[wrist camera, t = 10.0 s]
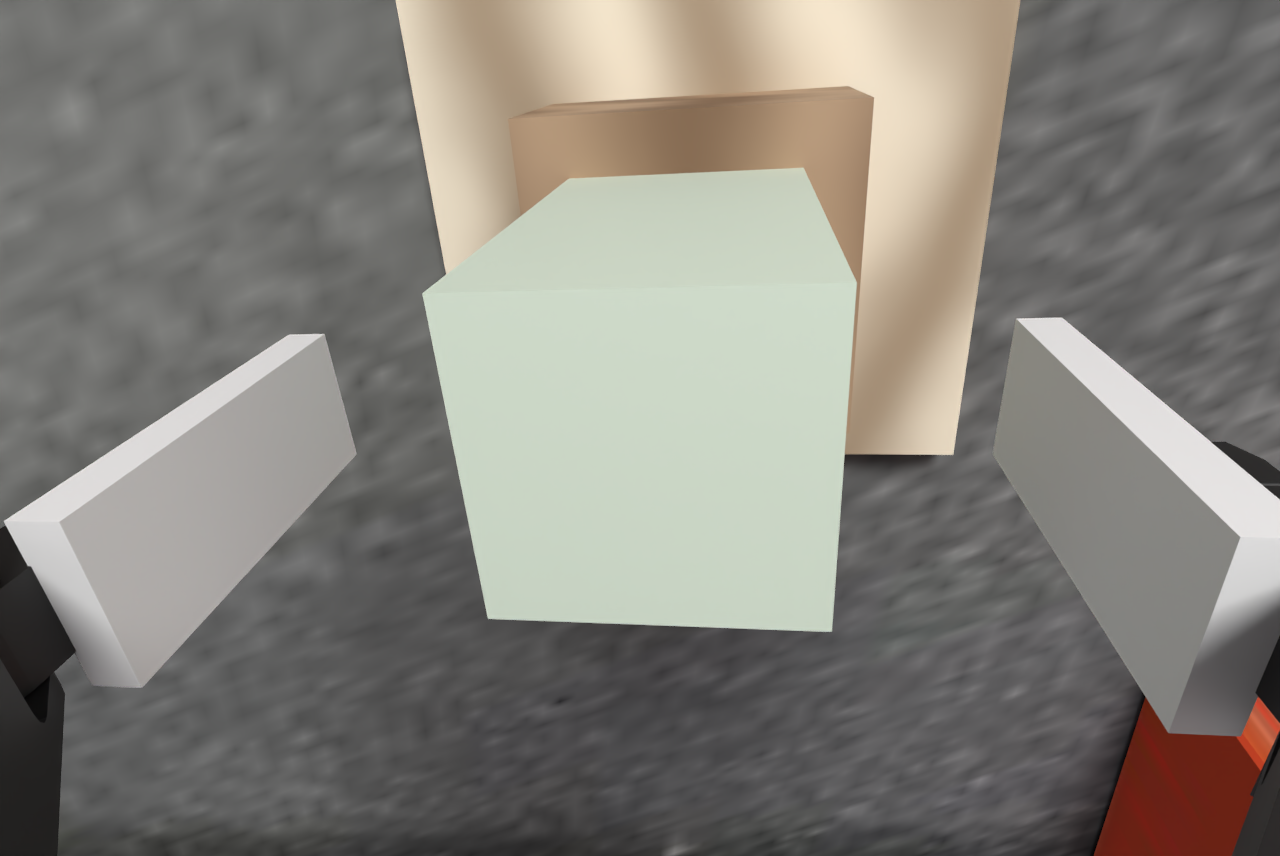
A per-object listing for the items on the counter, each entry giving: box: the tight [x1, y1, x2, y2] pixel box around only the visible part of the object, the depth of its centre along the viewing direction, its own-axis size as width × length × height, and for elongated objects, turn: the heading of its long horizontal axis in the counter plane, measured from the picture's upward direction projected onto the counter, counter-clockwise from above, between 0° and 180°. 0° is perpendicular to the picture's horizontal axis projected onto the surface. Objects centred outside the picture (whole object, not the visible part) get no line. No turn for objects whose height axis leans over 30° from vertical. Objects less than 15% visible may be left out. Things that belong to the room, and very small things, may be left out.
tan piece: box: [396, 0, 1020, 455], centre depth 23 cm, size 18×16×6 cm
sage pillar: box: [422, 168, 857, 632], centre depth 16 cm, size 6×6×10 cm
